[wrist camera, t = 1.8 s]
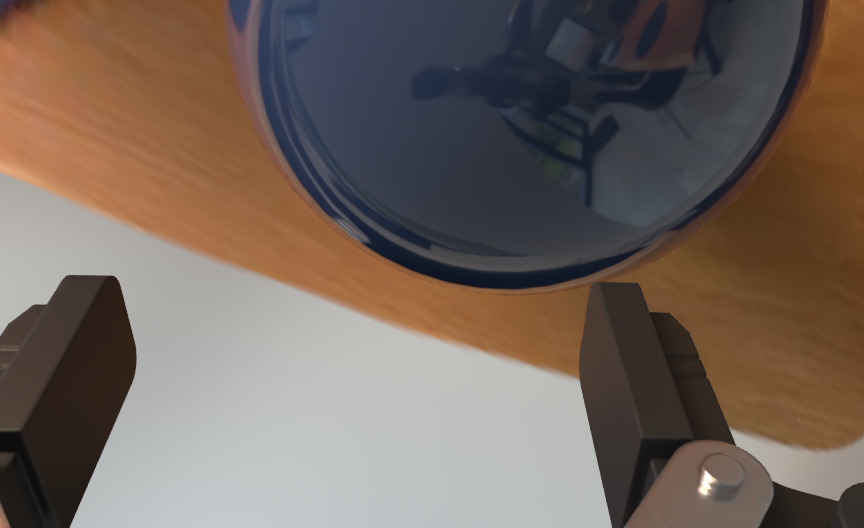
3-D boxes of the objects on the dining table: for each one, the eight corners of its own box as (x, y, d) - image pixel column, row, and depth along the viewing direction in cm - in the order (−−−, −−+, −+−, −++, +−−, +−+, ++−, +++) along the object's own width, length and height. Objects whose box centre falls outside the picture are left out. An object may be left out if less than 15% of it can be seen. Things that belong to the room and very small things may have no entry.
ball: (429, -306, 32) (339, -748, 14) (810, -73, 33) (1189, -199, 15) (239, 97, 37) (-9, 161, 19) (577, 287, 38) (650, 518, 20)
